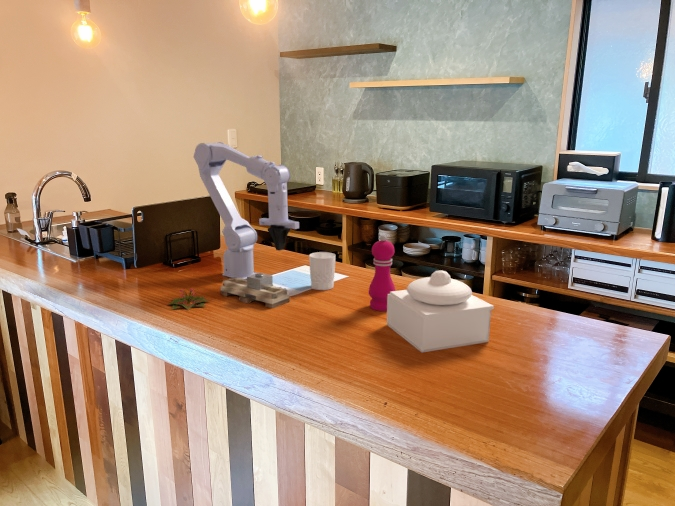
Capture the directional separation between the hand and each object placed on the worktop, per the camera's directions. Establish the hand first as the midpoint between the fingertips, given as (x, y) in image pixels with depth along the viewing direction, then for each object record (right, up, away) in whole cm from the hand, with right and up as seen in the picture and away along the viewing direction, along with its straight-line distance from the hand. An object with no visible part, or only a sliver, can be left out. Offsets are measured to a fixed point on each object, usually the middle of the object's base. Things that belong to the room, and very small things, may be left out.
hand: (279, 249), depth 164 cm
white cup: (+13, -12, -2) cm, 18 cm away
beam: (-6, -14, -13) cm, 20 cm away
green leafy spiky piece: (-23, -15, -18) cm, 33 cm away
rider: (-4, -12, -15) cm, 19 cm away
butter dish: (+41, -20, -37) cm, 59 cm away
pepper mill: (+30, -16, -20) cm, 39 cm away
